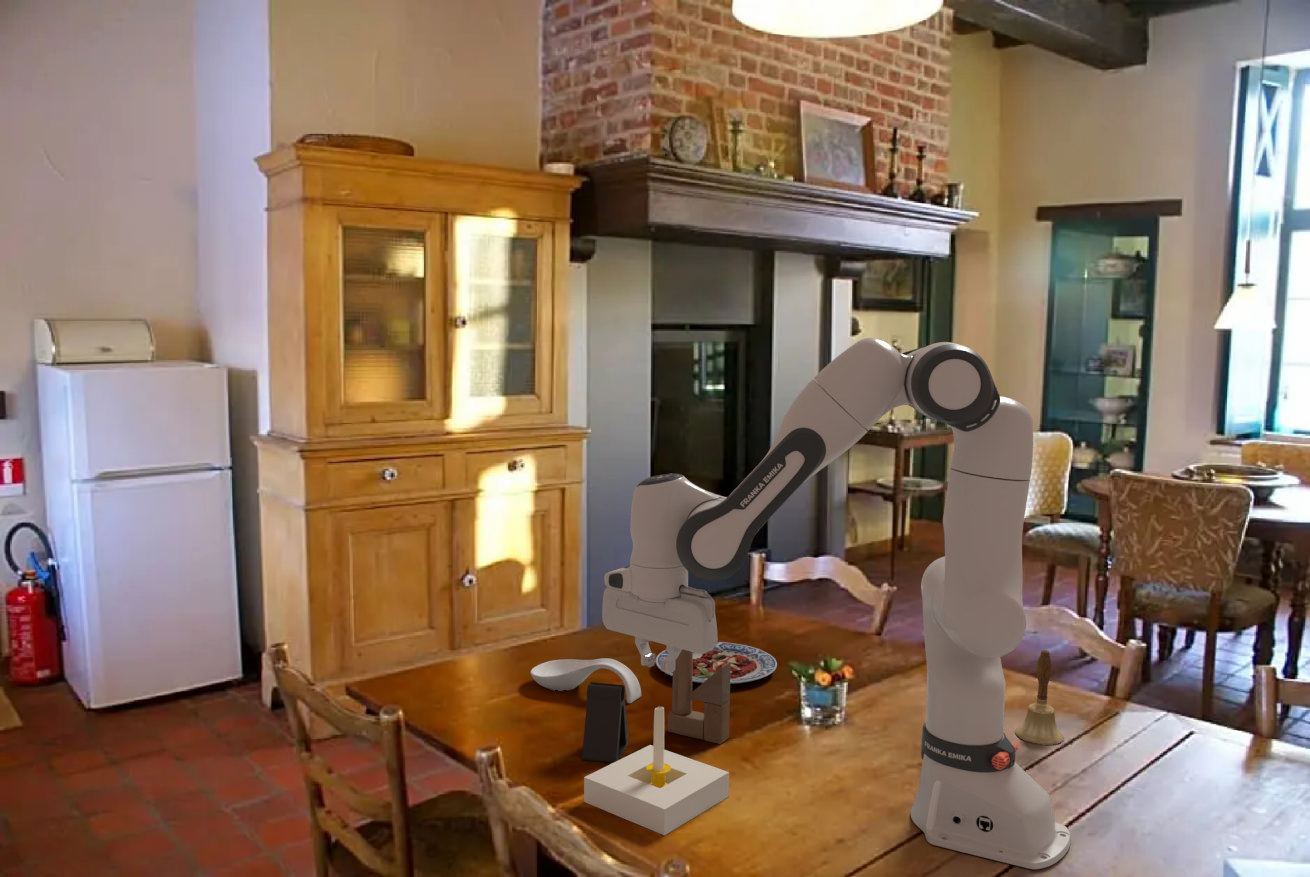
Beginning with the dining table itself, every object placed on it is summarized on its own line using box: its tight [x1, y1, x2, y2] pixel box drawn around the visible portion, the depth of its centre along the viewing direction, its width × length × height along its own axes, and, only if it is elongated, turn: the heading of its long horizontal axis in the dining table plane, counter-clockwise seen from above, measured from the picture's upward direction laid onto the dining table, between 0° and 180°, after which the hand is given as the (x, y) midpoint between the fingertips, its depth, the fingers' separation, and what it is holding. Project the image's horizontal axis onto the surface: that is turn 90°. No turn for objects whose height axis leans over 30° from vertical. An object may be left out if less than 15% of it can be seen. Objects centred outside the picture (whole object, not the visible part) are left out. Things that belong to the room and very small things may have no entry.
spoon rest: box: [530, 657, 642, 704], centre depth 207 cm, size 24×12×7 cm, turn 63°
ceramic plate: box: [655, 641, 778, 685], centre depth 220 cm, size 26×26×3 cm
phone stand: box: [581, 681, 630, 764], centre depth 177 cm, size 9×6×12 cm, turn 167°
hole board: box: [583, 744, 730, 836], centre depth 160 cm, size 16×16×4 cm
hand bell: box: [1014, 649, 1065, 746], centre depth 186 cm, size 8×8×16 cm
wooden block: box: [667, 649, 731, 745], centre depth 184 cm, size 4×11×18 cm, turn 61°
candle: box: [646, 704, 671, 788], centre depth 159 cm, size 5×5×16 cm
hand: (658, 668), depth 158 cm, fingers open, 3 cm apart
